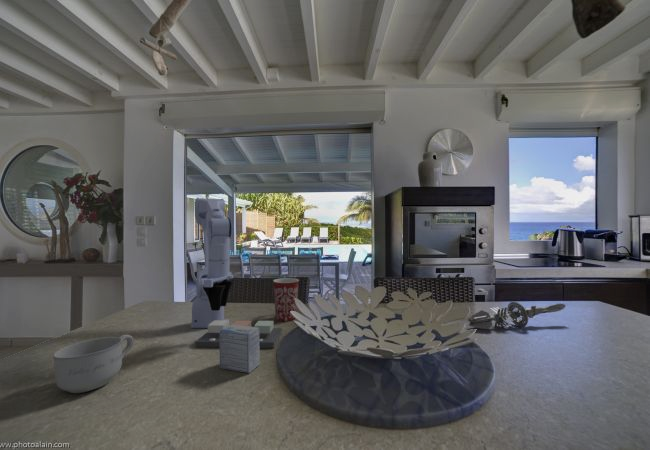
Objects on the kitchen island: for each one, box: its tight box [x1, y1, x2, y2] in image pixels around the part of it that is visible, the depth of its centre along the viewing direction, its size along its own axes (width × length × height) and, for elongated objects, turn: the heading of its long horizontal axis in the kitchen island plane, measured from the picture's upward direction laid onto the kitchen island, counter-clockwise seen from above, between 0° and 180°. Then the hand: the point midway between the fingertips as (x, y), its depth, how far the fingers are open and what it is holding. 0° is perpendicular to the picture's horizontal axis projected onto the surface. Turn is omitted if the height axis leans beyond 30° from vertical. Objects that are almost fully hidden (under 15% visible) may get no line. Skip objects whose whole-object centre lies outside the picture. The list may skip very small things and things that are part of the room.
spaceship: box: [467, 301, 566, 330], centre depth 92 cm, size 8×35×8 cm
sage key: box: [253, 320, 275, 333], centre depth 81 cm, size 4×4×2 cm
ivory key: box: [207, 320, 230, 333], centre depth 81 cm, size 4×4×2 cm
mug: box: [272, 277, 300, 322], centre depth 103 cm, size 13×9×14 cm
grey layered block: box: [219, 324, 261, 374], centre depth 65 cm, size 8×4×9 cm, turn 71°
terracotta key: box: [231, 320, 252, 327], centre depth 81 cm, size 4×4×2 cm
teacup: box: [52, 334, 135, 394], centre depth 59 cm, size 14×11×8 cm
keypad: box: [194, 327, 283, 349], centre depth 81 cm, size 21×11×2 cm, turn 88°
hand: (218, 308), depth 81 cm, fingers open, 4 cm apart
